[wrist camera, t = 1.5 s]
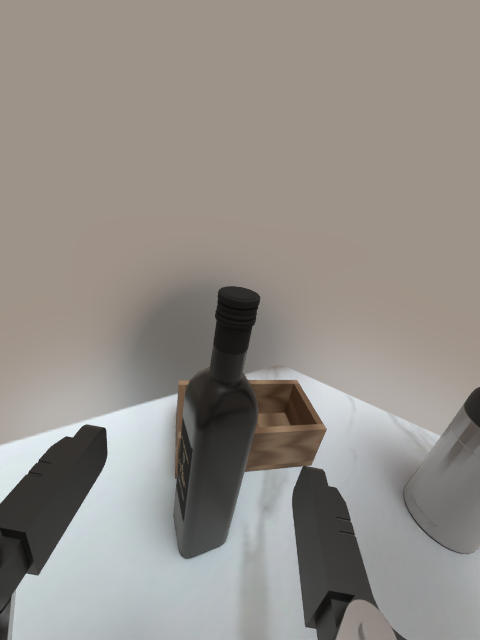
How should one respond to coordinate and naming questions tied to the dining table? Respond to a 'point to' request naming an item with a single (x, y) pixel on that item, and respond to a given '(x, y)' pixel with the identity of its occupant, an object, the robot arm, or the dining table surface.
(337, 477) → the dining table surface
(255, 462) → the bottle rack
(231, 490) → the wine bottle
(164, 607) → the dining table surface
